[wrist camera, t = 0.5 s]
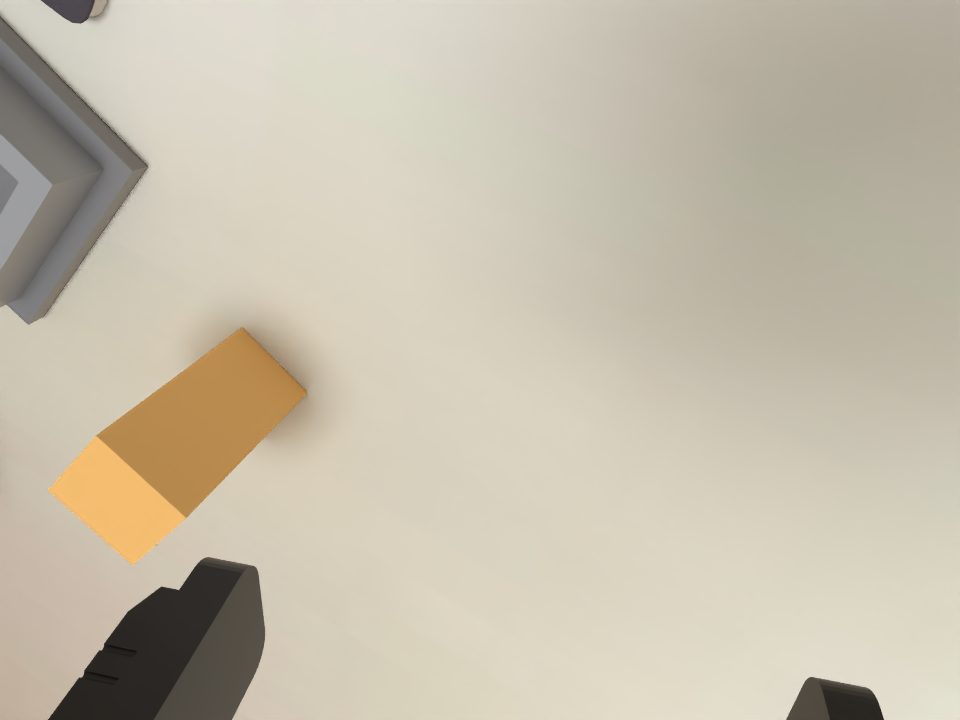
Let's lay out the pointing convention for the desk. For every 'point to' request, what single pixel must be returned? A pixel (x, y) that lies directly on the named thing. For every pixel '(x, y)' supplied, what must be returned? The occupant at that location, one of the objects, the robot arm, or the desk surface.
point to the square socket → (51, 179)
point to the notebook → (77, 8)
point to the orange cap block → (177, 446)
